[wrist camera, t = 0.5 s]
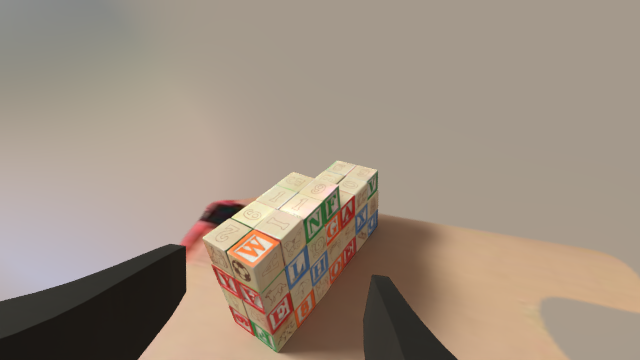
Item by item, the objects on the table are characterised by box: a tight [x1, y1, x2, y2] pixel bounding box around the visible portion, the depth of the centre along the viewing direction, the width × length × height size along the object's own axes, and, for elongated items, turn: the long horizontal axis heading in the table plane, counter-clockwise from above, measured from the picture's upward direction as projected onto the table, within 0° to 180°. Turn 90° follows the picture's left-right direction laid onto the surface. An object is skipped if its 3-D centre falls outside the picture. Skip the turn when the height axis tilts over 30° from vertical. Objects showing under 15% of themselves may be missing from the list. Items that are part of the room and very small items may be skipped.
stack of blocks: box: [203, 161, 378, 353], centre depth 34 cm, size 21×6×12 cm, turn 145°
